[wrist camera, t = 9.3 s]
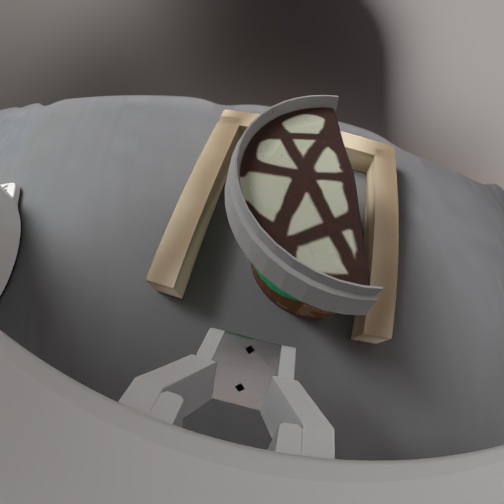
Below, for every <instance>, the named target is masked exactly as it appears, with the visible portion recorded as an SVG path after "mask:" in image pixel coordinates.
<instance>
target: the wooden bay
mask: <svg viewBox="0 0 504 504" xmlns="http://www.w3.org/2000/svg"><path fill="white" fill-rule="evenodd" d="M259 115H260V114H255V113H248V112H241V111H233V110H224V112H223V113H222V115H221V117H220V119H219V121H218V122H217V124H216V126H215V128H214V130H213V132H212V134H211V136H210V137H209V139H208V141H207V143H206V145H205V147H204V149H203V151H202V153H201V155H200V157H199V159H198V161H197V163H196V165H195V167H194V169H193V171H192V173H191V175H190V177H189V179H188V182H187V184H186V186H185V188H184V190H183V192H182V194H181V196H180V199H179V201H178V203H177V205H176V207H175V210H174V212H173V214H172V216H171V219H170V221H169V223H168V226H167V228H166V230H165V233H164V235H163V237H162V240H161V242H160V245H159V247H158V250H157V252H156V254H155V257H154V259H153V262H152V265H151V267H150V270H149V272H148V275H147V278H146V281H147V282H148V283H149V284H150V285H151V286H152V287H153V288H155V289H156V290H157V291H158V292H162V293H165V294H168V295H171V296H175V297H178V298H181V299H182V298H183V295H184V293H185V290H186V287H187V284H188V281H189V278H190V275H191V272H192V269H193V266H194V264H195V261H196V258H197V255H198V252H199V250H200V247H201V244H202V241H203V239H204V236H205V233H206V230H207V228H208V225H209V222H210V220H211V217H212V214H213V212H214V209H215V207H216V204H217V201H218V199H219V196H220V194H221V191H222V189H223V186H224V183H225V181H226V178H227V174H228V170H229V166H230V161H231V157H232V154H233V152H234V149H235V147H236V145H237V143H238V141H239V140H240V138H241V137H242V135H243V133H244V132H245V130H246V129H247V127H248V126H249V125H250V123H251V122H252V121H253V120H254V119H255V118H256V117H258V116H259ZM340 132H341V136H342V139H343V143H344V146H345V149H346V152H347V155H348V157H349V160H350V163H351V166H352V169H353V170H357V171H360V172H364V173H366V206H365V224H364V238H363V241H364V248H365V255H366V260H367V265H368V269H369V280H370V286H381V287H383V289H382V290H381V291H380V292H379V293H378V294H377V295H376V296H377V301H376V302H375V304H374V305H373V306H372V307H371V309H370V310H369V311H368V312H367V313H366V315H365V316H364V315H355V316H354V323H353V329H352V335H351V339H352V340H357V341H363V342H368V343H374V344H377V343H380V342H383V341H386V340H389V339H392V331H393V323H394V314H395V303H396V291H397V275H398V248H399V216H398V189H397V174H396V162H395V151H394V147H393V146H390V145H387V144H383V143H380V142H377V141H374V140H371V139H367V138H364V137H360V136H357V135H353V134H350V133H346V132H342V131H340Z"/></svg>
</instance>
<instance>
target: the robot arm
mask: <svg viewBox="0 0 504 504" xmlns="http://www.w3.org/2000/svg"><path fill="white" fill-rule="evenodd" d="M19 195H20V187H19V186H18V185H17V184H15V183H7V184H2V185H0V295H1V294H2V292H3V290H4V288H5V286H6V284H7V282H8V279H9V277H10V274H11V272H12V269H13V266H14V263H15V260H16V256H17V252H18V247H19V242H20V233H21V222H20V215H19V211H18V200H19ZM295 362H296V348H295V347H290V346H284V345H277V344H273V343H268V342H264V341H260V340H256V339H252V338H249V337H245V336H241V335H238V334H234V333H231V332H227V331H223V330H220V329H216V328H213V327H211V328H210V329H209V331H208V333H207V335H206V336H205V338H204V340H203V342H202V344H201V346H200V348H199V350H198V352H197V354H196V355H193V354H191V355H188V356H186V357H184V358H181V359H179V360H177V361H174V362H172V363H170V364H167V365H165V366H162V367H160V368H157V369H155V370H153V371H150V372H148V373H145V374H143V375H140V376H137V377H135V378H134V380H133V381H132V383H131V384H130V386H129V387H128V388H127V390H126V391H125V393H124V394H123V396H122V397H121V398H120V400H119V401H118V402H117V401H114V400H112V399H110V398H108V397H106V396H104V395H102V394H100V393H98V392H96V391H94V390H92V389H90V388H88V387H87V386H85V385H83V384H81V383H79V382H77V381H76V380H74V379H72V378H70V377H69V376H67V375H65V374H64V373H62V372H60V371H59V370H57V369H55V368H54V367H52V366H50V365H49V364H47V363H46V362H44V361H43V360H41V359H40V358H38V357H37V356H35V355H34V354H32V353H31V352H29V351H28V350H26V349H25V348H24V347H22V346H21V345H19V344H18V343H17V342H15V341H14V340H13V339H11V338H10V337H9V336H7V335H6V334H5V333H4V332H2V331H1V330H0V504H504V445H500V446H496V447H492V448H488V449H483V450H479V451H474V452H468V453H463V454H456V455H450V456H442V457H433V458H423V459H409V460H345V459H335V439H334V428H333V427H332V425H331V424H330V423H329V421H328V420H327V419H326V417H325V416H324V415H323V413H322V412H321V411H320V409H319V408H318V407H317V405H316V404H315V403H314V401H313V400H312V399H311V397H310V396H309V395H308V393H307V392H306V391H305V389H304V388H303V386H302V385H301V384H300V382H299V381H297V380H294V376H295ZM211 398H213V399H217V400H221V401H225V402H229V403H233V404H237V405H241V406H244V407H248V408H252V409H256V410H260V413H261V416H262V418H263V420H264V422H265V425H266V427H267V429H268V431H269V433H270V436H271V438H272V441H271V443H270V445H269V447H268V449H267V450H265V449H260V448H255V447H250V446H245V445H241V444H237V443H233V442H229V441H225V440H221V439H217V438H214V437H210V436H207V435H203V434H200V433H197V432H194V431H191V430H187V429H184V428H183V418H184V417H186V416H187V415H189V414H190V413H192V412H193V411H195V410H196V409H198V408H199V407H201V406H202V405H204V404H205V403H207V402H208V401H209V400H211Z"/></svg>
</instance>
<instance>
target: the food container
mask: <svg viewBox="0 0 504 504" xmlns="http://www.w3.org/2000/svg"><path fill="white" fill-rule="evenodd" d="M337 102H338V96H330V95H310V96H304V97H298V98H293V99H290V100H287V101H283V102H281V103H279V104H276V105H274V106H272V107H270V108H269V109H267V110H266V111H264V112H263V113H261V114H260V115H259V116H258V117H256V118H255V119H254V120H253V121H252V122H251V123H250V125H249V126H248V127H247V129H246V130H245V132H244V133H243V135H242V137H241V138H240V140H239V141H238V143H237V145H236V147H235V149H234V152H233V154H232V157H231V161H230V166H229V170H228V174H227V180H226V185H225V208H226V212H227V217H228V222H229V225H230V227H231V229H232V232H233V234H234V237H235V239H236V241H237V243H238V244H239V246H240V247H241V249H242V250H243V252H244V254H245V255H246V257H247V258H248V259H249V260H250V262H251V266H252V270H253V274H254V277H255V279H256V281H257V283H258V285H259V286H260V288H261V289H262V291H263V292H264V293H265V295H266V296H267V297H268V298H269V299H270V300H271V301H272V302H274V303H275V304H276V305H278V306H279V307H281V308H282V309H284V310H286V311H288V312H290V313H292V314H295V315H298V316H301V317H306V318H313V319H322V318H325V317H327V316H329V315H332V314H334V313H340V314H345V315H364V316H365V315H366V313H367V312H368V311H369V310H370V309H371V307H372V306H373V305H374V304H375V302H376V301H377V296H376V295H377V294H378V293H379V292H380V291H381V290H382V289H383V287H381V286H370V280H369V269H368V265H367V260H366V255H365V248H364V241H363V234H362V227H361V220H360V213H359V206H358V198H357V190H356V184H355V178H354V173H353V170H352V166H351V163H350V160H349V157H348V155H347V152H346V149H345V146H344V143H343V139H342V136H341V132H340V128H339V125H338V121H337V118H336V115H335V112H336V107H337Z"/></svg>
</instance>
